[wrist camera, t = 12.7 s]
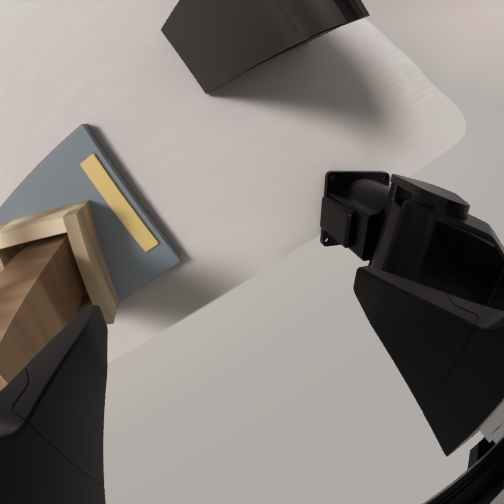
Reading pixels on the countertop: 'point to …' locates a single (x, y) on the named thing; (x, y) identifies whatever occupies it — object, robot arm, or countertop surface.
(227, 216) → the countertop surface
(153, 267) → the slate board
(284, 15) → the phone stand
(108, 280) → the maple socket
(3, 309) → the walnut block
